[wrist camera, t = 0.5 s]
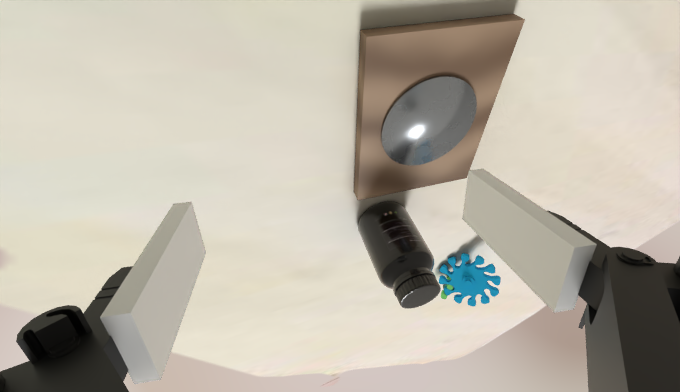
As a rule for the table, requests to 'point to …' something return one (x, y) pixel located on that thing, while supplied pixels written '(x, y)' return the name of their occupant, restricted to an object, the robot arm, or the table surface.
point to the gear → (468, 280)
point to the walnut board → (426, 99)
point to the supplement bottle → (399, 254)
